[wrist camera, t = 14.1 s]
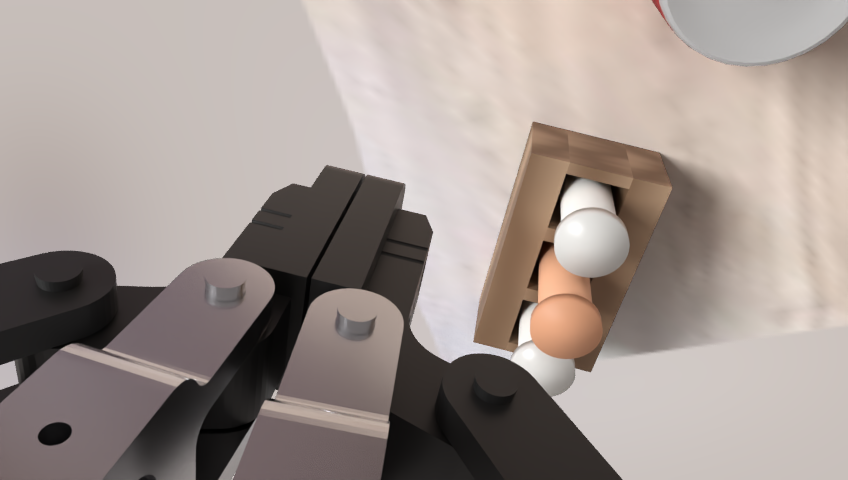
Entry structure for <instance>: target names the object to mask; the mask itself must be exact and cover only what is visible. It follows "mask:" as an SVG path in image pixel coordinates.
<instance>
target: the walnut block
mask: <svg viewBox="0 0 848 480" xmlns="http://www.w3.org/2000/svg"><path fill="white" fill-rule="evenodd" d="M566 174H569V175H573V176H577V177H581V178H585V179H590V180H594V181H598V182H602V183H606V184H610V185H611V191H612V196H613V201H614V207H615V212H616V215H617V216H618V217H619V218H620V219H621V220H622V221H623V223H624V224H625V227H626V229H627V232H628V237H629V243H630V246H629V253H628V256H627V258H626V260H625V261H624V262H623V264H622V265H621V266H620V267H619V268H618V269H616V270H615V271H613V272H612V273H610V274H607V275H604V276H601V277H595V278H590V286H591V296H592V303H593V304H594V305H595V306H596V308H597V309H598V311H599V313H600V315H601V320H602V328H603V334H602V338H601V341H600V343H599V344H598V346H597V347H596V348H595V349H594V350H593V351H591V352H590V353H588V354H587V355H584V356H582V357H579V358H574V362H575V368H577V369H580V370H584V371H588V372H591V371H592V368H593V366H594V364H595V362H596V359H597V357H598V355H599V353H600V350H601V348H602V346H603V344H604V341H605V339H606V337H607V335H608V332H609V330H610V328H611V326H612V323H613V321H614V319H615V317H616V314H617V312H618V310H619V308H620V305H621V303H622V301H623V299H624V296H625V294H626V292H627V290H628V287H629V285H630V283H631V280H632V278H633V276H634V274H635V271H636V269H637V267H638V265H639V262H640V260H641V258H642V256H643V253H644V251H645V249H646V247H647V244H648V242H649V240H650V238H651V235H652V233H653V231H654V229H655V226H656V224H657V222H658V220H659V217H660V215H661V213H662V211H663V208H664V206H665V204H666V202H667V199H668V197H669V195H670V193H671V190H672V185H671V182H670V180H669V177H668V174H667V172H666V169H665V166H664V163H663V161H662V158H661V155H660V153H658V152H654V151H650V150H646V149H642V148H638V147H634V146H630V145H626V144H622V143H618V142H614V141H609V140H605V139H601V138H597V137H593V136H589V135H585V134H581V133H577V132H573V131H569V130H565V129H561V128H557V127H552V126H548V125H544V124H540V123H536V122H533V123H532V127H531V130H530V133H529V137H528V140H527V143H526V147H525V150H524V153H523V157H522V160H521V163H520V167H519V170H518V173H517V177H516V180H515V183H514V187H513V190H512V193H511V197H510V200H509V203H508V207H507V210H506V213H505V217H504V220H503V223H502V227H501V230H500V233H499V237H498V240H497V243H496V247H495V250H494V253H493V257H492V260H491V263H490V267H489V270H488V273H487V277H486V280H485V283H484V287H483V290H482V293H481V297H480V301H479V308H478V315H477V321H476V328H475V335H474V341H473V342H476V343H479V344H483V345H487V346H491V347H495V348H499V349H503V350H507V351H510V352H514V351H515V349H516V348H517V347H518V338H519V321H520V307H521V304H522V301H523V300H527V301H531V302H535V303H538V280H539V251H540V248H541V246H542V243H543V240H544V241H548V242H552V243H554V235H555V231H556V228H557V226H558V225H559V223H560V222H561V206H560V194H559V193H560V190H561V187H562V184H563V181H564V178H565V176H566Z"/></svg>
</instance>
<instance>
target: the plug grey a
mask: <svg viewBox="0 0 848 480" xmlns="http://www.w3.org/2000/svg"><path fill="white" fill-rule="evenodd" d="M537 304H538V303H535V302H531V301H527V300H523V301H522V304H521V307H520V321H519V338H518V347H517V348H516V349H515V351H514V352H513V354H512V356H511V361H512V362H515V363H516V364H518V365H520V366H521V367H523V368H524V369H525V370H526V371H528V372H529V373H530V374H531V375H532V376H533V377H534V378H535V379H536V380H537V382H538V383H539V384H540V385H541V386H542V387H543V389H544V390H545V391H546V392H547V393H548V394H549V395H550V397H552V396H556V395H559V394H561V393H563V392H565V391H566V390H567V389H568V388H569V387H570V386H571V385H572V383H573V381H574V379H575V362H574V359H560V358H555V357H552V356H549V355H547V354H545V353H544V352H542V351H541V350H540V349H538V348H537V346H536V345H535V344H534V342H533V341H532V338H531V335H530V319H531V314H532V312H533V310H534V308H535V307H536V306H537Z"/></svg>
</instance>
